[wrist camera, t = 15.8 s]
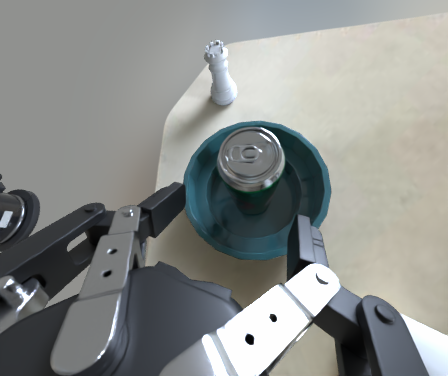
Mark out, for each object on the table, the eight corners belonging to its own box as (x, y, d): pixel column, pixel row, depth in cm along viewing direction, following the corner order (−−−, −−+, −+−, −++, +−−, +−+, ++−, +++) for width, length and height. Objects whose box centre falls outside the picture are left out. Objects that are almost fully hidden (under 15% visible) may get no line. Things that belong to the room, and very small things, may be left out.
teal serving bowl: (178, 208, 25) (156, 199, 19) (239, 131, 27) (235, 102, 21) (268, 282, 20) (273, 299, 15) (333, 182, 22) (360, 162, 17)
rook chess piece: (209, 90, 30) (195, 41, 23) (234, 82, 30) (227, 30, 23) (215, 110, 29) (201, 64, 21) (240, 102, 29) (235, 52, 21)
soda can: (272, 215, 22) (290, 188, 10) (232, 214, 23) (211, 188, 11) (270, 178, 23) (285, 119, 12) (233, 179, 24) (215, 124, 13)
